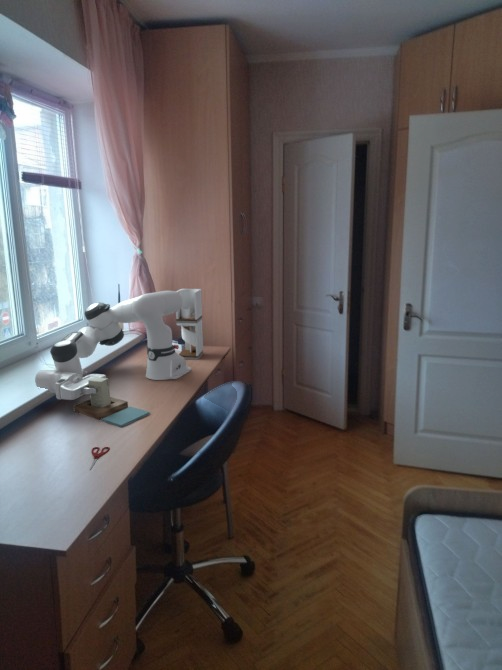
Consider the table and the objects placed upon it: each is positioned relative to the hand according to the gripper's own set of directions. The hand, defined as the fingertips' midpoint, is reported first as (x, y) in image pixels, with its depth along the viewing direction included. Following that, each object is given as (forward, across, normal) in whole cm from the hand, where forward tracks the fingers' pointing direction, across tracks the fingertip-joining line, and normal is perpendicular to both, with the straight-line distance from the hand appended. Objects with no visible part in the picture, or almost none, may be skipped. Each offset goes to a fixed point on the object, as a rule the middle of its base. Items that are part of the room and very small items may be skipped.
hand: (101, 388), depth 183 cm
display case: (-3, -77, -9) cm, 78 cm away
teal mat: (+12, +3, -9) cm, 15 cm away
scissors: (+22, +32, -9) cm, 40 cm away
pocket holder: (-1, 0, -9) cm, 9 cm away
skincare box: (-1, 0, -9) cm, 9 cm away
